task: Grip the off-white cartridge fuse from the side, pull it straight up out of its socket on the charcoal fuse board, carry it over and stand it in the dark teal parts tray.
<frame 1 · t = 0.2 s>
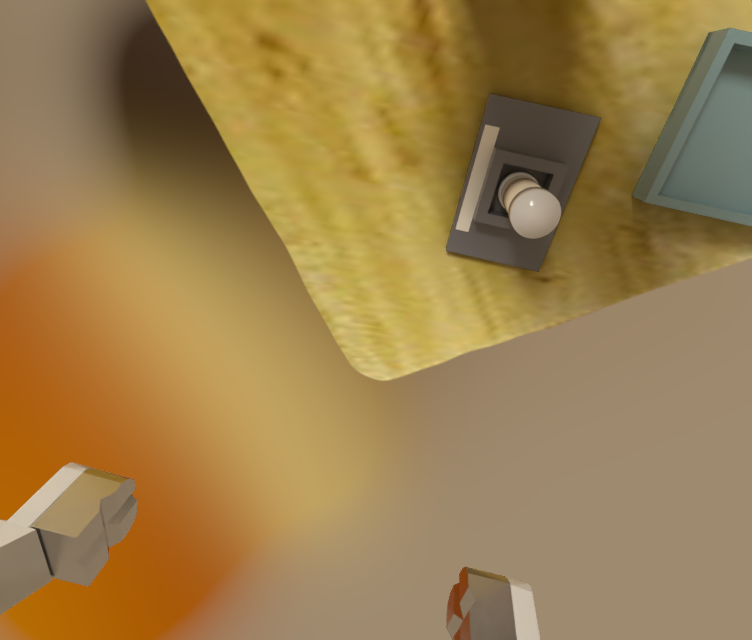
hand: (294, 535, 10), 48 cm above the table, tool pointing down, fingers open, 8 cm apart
fuse board: (515, 188, 51), on the table
fuse: (516, 190, 50), point 1 cm above the table, touching fuse board
parts tray: (742, 137, 46), on the table
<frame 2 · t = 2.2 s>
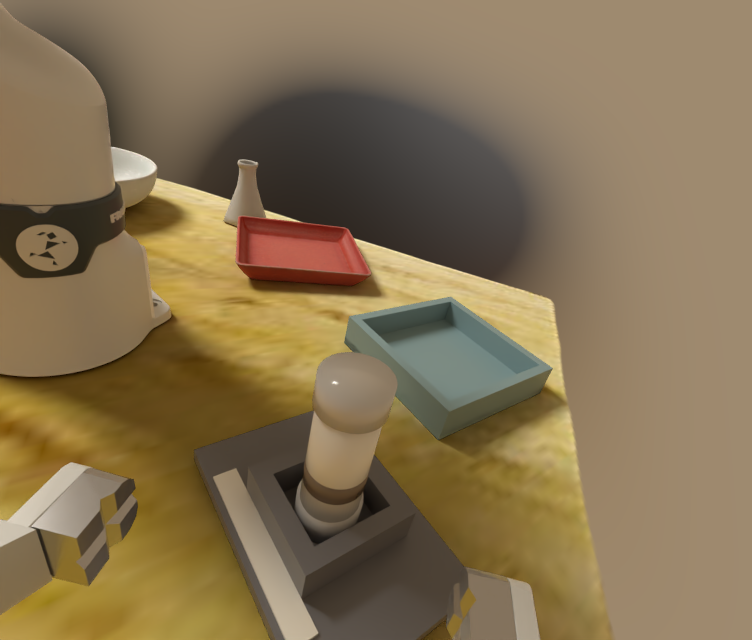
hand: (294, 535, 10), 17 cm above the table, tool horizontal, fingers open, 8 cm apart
fuse board: (324, 522, 30), on the table
fuse: (326, 513, 29), point 1 cm above the table, touching fuse board
parts tray: (441, 367, 48), on the table
flask: (245, 222, 74), on the table
plant saucer: (298, 263, 65), on the table
serving bowl: (85, 204, 68), on the table
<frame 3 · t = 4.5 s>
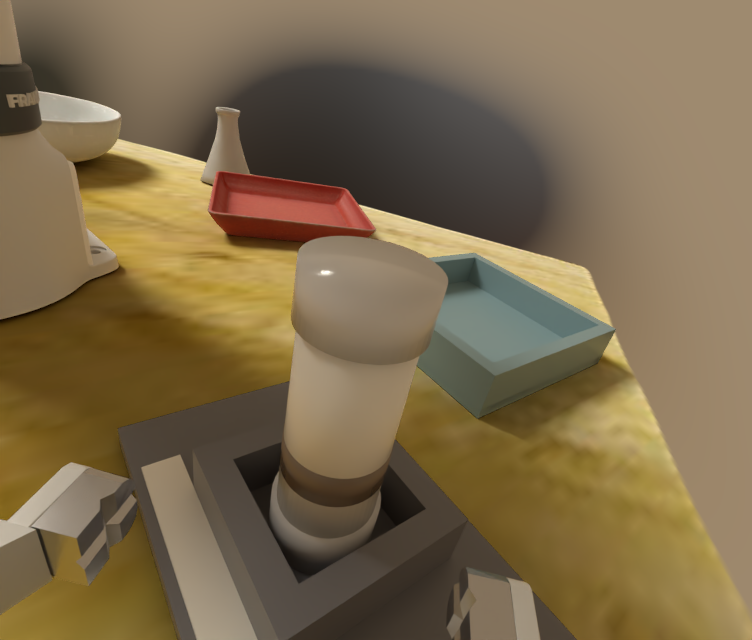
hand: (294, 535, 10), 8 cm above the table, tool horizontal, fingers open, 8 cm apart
fuse board: (318, 537, 19), on the table
fuse: (321, 522, 18), point 1 cm above the table, touching fuse board
parts tray: (469, 332, 38), on the table
flask: (227, 184, 64), on the table
plant saucer: (287, 224, 55), on the table
serving bowl: (35, 159, 57), on the table
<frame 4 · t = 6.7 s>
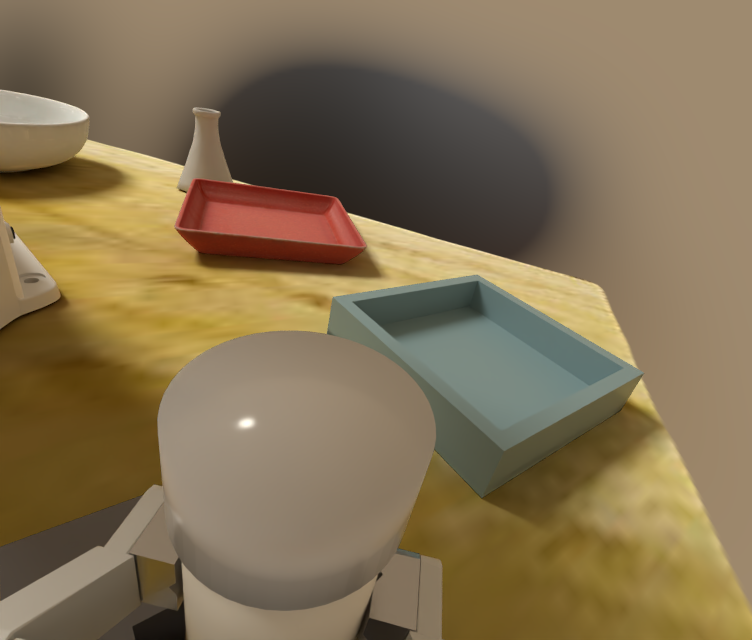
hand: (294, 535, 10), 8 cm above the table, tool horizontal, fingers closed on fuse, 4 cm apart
parts tray: (471, 373, 32), on the table
flask: (207, 191, 58), on the table
plant saucer: (270, 238, 49), on the table
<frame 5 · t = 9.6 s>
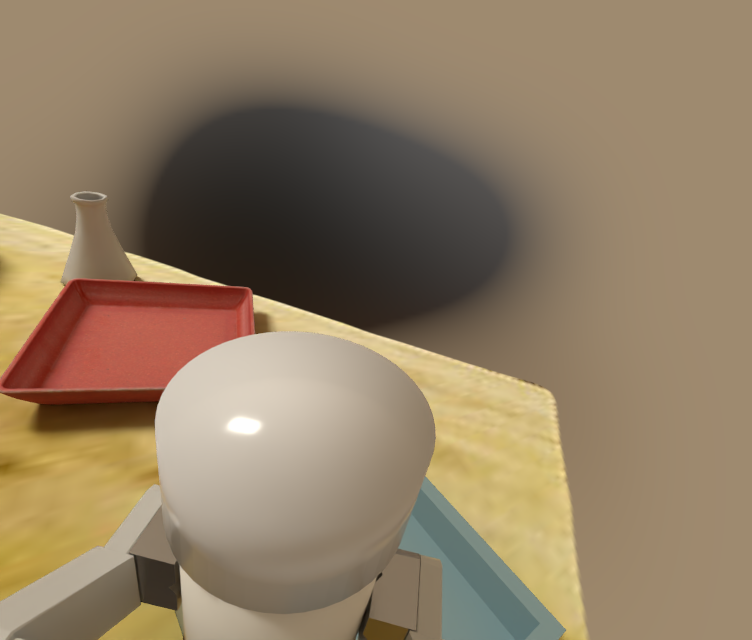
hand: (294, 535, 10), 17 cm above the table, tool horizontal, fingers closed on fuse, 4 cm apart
parts tray: (348, 611, 25), on the table
flask: (101, 282, 50), on the table
plant saucer: (156, 355, 42), on the table
when the fingers open (9 cm above the table, at t = 12.4 s): fuse drops 2 cm, resting on parts tray.
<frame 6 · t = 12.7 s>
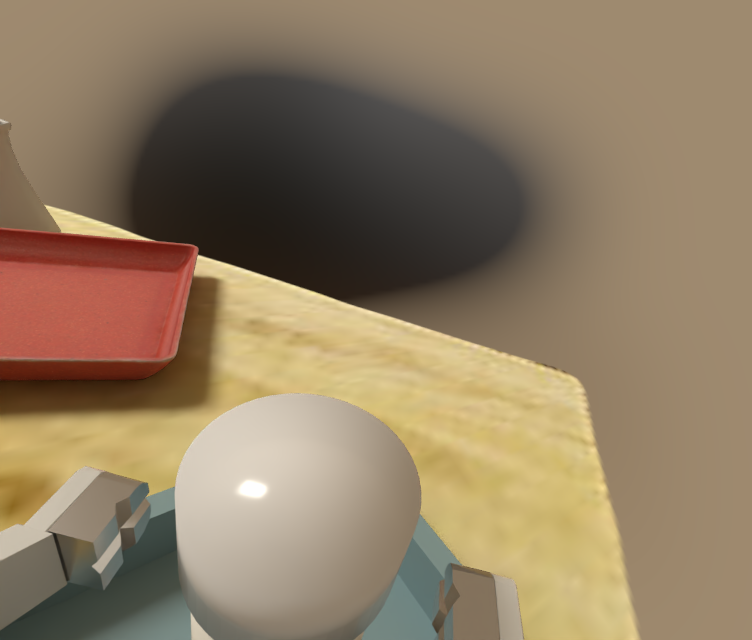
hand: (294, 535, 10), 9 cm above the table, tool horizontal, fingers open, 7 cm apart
flask: (11, 237, 40), on the table
plant saucer: (57, 323, 31), on the table
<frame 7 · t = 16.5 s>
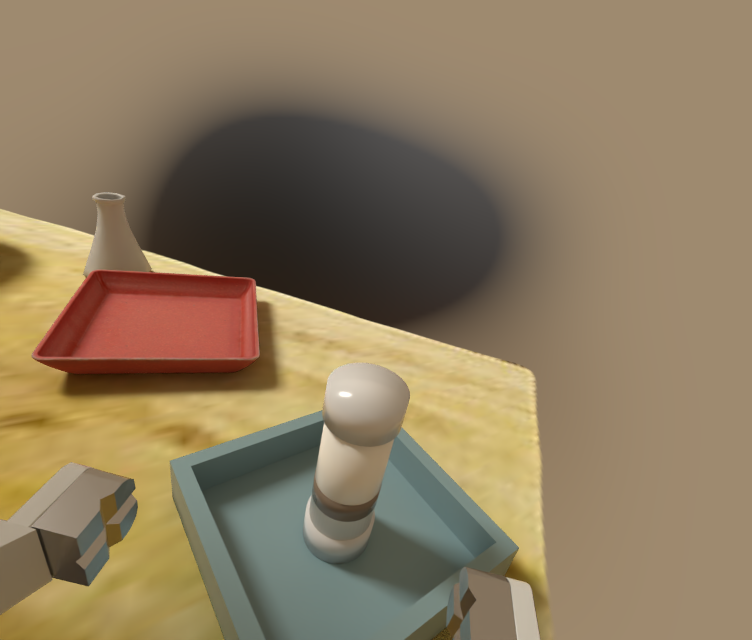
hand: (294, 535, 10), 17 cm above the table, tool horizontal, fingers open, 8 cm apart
fuse: (336, 530, 28), point 1 cm above the table, touching parts tray
parts tray: (333, 538, 29), on the table
flask: (119, 275, 55), on the table
plant saucer: (169, 336, 46), on the table
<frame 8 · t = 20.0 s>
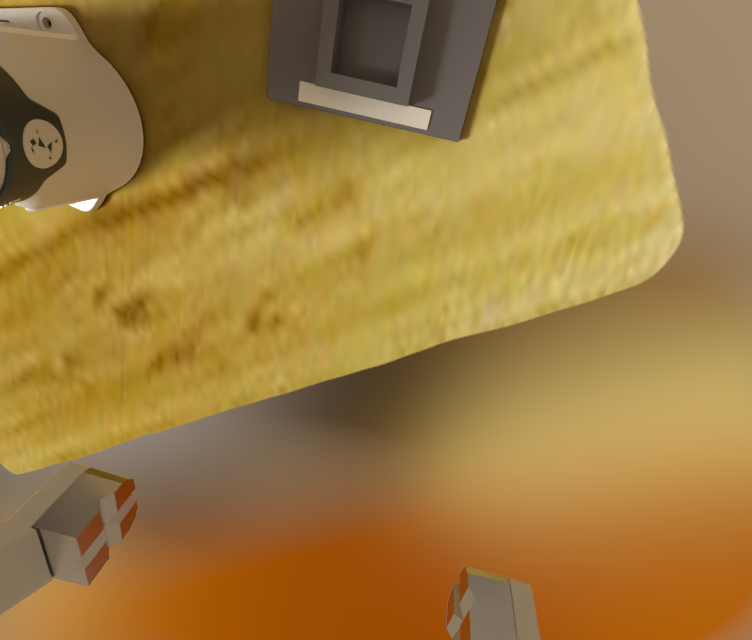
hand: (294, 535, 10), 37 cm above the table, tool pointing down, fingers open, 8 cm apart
fuse board: (376, 44, 37), on the table
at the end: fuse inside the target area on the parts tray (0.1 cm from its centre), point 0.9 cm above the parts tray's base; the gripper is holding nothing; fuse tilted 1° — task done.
